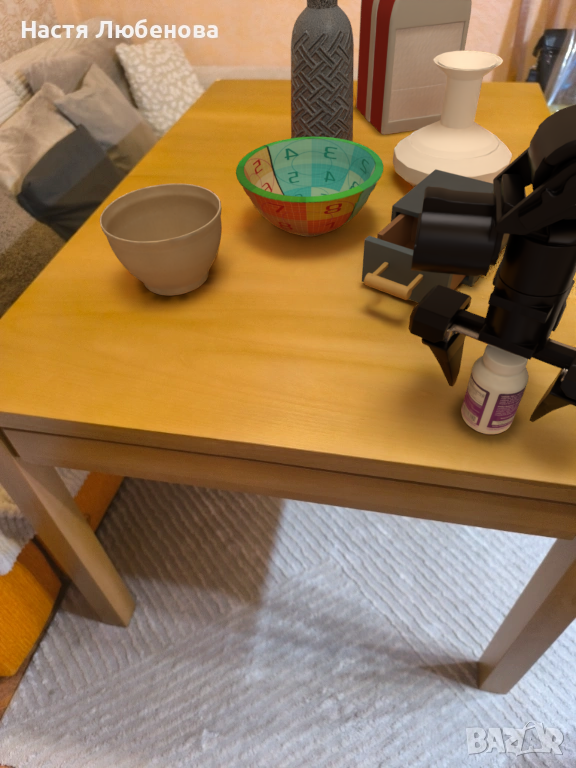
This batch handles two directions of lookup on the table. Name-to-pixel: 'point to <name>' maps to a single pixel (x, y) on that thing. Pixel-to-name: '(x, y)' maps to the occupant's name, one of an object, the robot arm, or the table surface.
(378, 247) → the drawer
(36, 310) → the table surface
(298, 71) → the vase
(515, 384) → the pill bottle
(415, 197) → the cabinet
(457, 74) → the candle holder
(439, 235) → the robot arm
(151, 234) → the planter bowl
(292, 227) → the bowl
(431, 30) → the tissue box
